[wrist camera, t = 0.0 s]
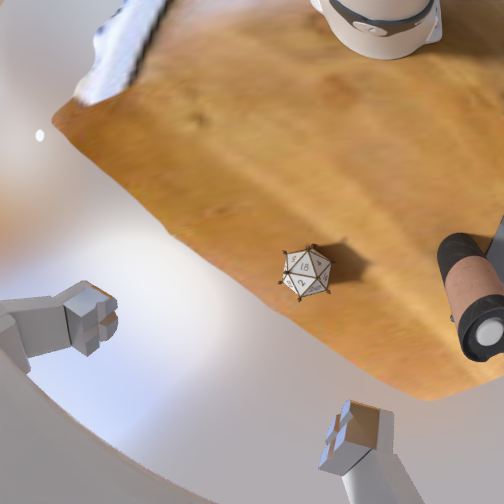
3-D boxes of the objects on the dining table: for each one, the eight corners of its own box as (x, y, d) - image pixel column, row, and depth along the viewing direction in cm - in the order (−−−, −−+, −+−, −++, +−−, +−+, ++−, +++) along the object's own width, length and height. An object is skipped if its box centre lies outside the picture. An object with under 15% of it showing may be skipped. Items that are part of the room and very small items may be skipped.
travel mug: (445, 224, 39) (482, 298, 22) (485, 239, 37) (533, 315, 21) (428, 268, 43) (447, 356, 26) (466, 280, 41) (497, 368, 24)
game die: (323, 243, 52) (352, 252, 42) (315, 292, 53) (342, 309, 43) (273, 237, 50) (294, 245, 40) (266, 288, 51) (284, 307, 41)
